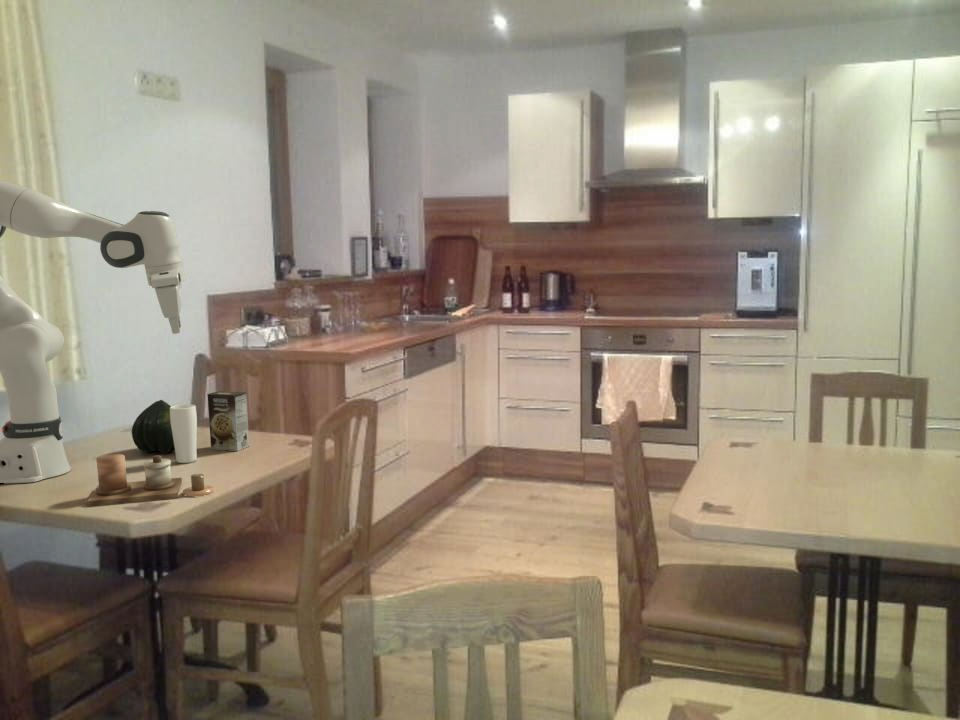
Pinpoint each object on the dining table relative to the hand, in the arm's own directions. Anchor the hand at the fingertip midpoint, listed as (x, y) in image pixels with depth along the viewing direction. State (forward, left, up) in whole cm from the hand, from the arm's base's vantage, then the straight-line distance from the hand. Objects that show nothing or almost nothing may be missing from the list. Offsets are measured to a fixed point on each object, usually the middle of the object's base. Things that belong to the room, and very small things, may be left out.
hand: (177, 330), depth 217 cm
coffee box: (+10, +22, -37) cm, 44 cm away
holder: (-10, -19, -36) cm, 42 cm away
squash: (-9, +26, -37) cm, 46 cm away
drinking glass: (-1, +10, -37) cm, 38 cm away
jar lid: (+4, -23, -37) cm, 43 cm away
